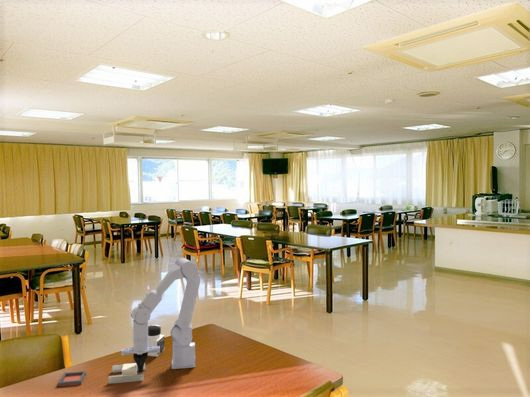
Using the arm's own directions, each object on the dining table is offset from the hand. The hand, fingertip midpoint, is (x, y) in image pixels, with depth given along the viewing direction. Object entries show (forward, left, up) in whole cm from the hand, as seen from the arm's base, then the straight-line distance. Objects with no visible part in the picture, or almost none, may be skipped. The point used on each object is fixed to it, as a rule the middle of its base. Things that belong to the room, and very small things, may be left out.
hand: (140, 371), depth 162 cm
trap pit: (+25, -1, -1) cm, 25 cm away
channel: (+5, 0, -1) cm, 5 cm away
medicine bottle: (-4, -20, -2) cm, 20 cm away
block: (+4, 0, -2) cm, 5 cm away
